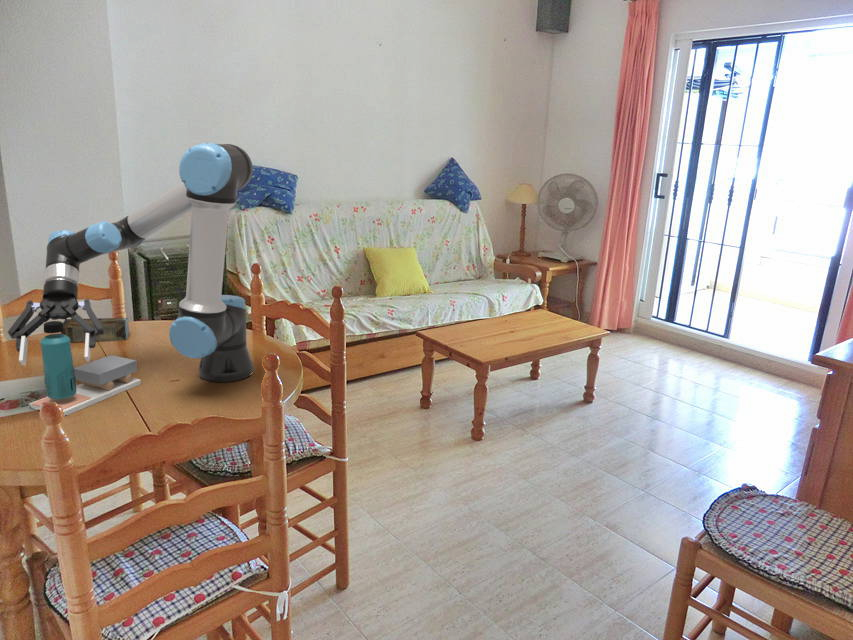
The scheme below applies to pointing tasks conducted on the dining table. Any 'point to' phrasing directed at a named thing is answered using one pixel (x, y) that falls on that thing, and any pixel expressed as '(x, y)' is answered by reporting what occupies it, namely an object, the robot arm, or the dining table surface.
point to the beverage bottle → (57, 362)
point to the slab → (105, 370)
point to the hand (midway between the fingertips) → (55, 361)
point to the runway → (91, 394)
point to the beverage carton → (112, 327)
